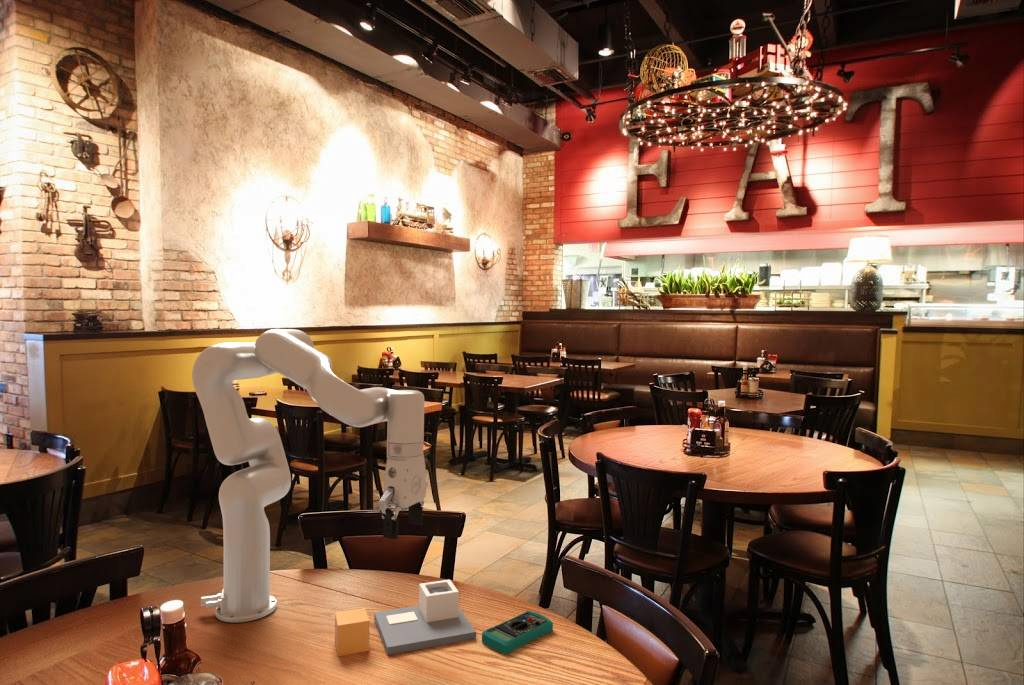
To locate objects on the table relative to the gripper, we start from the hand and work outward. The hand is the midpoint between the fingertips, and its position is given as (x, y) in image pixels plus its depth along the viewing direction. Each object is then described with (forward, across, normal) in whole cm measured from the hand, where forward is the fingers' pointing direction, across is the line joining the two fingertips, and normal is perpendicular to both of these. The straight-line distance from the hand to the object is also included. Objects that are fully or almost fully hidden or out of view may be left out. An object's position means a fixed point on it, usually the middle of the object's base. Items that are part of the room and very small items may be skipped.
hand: (403, 530), depth 129 cm
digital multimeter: (+21, +7, -24) cm, 33 cm away
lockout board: (+21, +2, -4) cm, 21 cm away
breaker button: (+19, +7, -5) cm, 21 cm away
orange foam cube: (+21, -9, +6) cm, 24 cm away
